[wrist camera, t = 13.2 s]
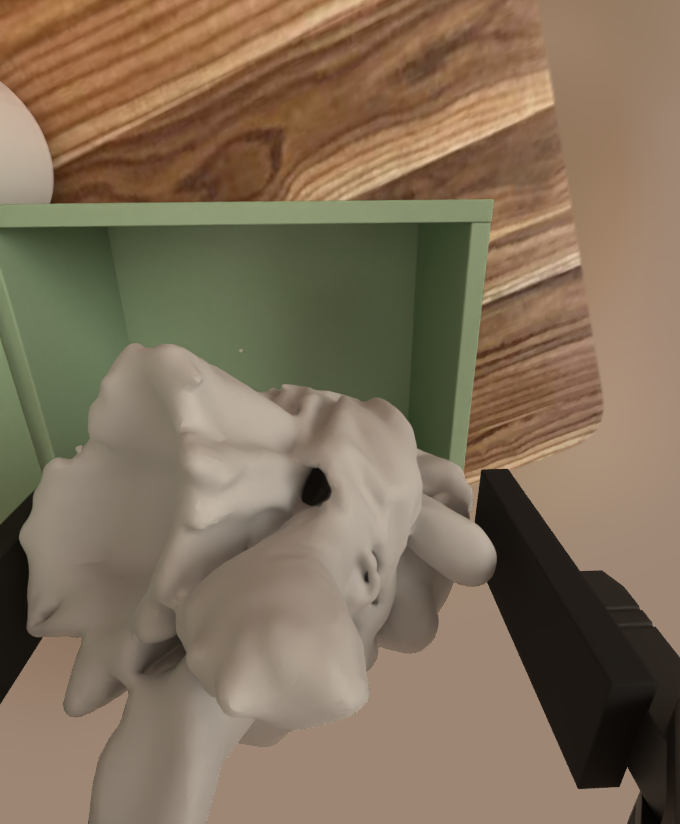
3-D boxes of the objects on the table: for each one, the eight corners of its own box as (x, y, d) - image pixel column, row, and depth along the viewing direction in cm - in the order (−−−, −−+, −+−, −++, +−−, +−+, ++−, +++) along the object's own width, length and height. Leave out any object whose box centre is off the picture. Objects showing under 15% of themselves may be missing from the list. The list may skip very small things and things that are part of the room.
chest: (430, 200, 28) (494, 199, 18) (415, 448, 35) (455, 551, 25) (94, 203, 28) (-41, 204, 17) (144, 455, 34) (69, 564, 24)
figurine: (258, 1011, 3) (679, 739, 11) (188, 189, 9) (489, 404, 17) (-133, 1024, 6) (398, 814, 14) (8, 435, 13) (325, 517, 20)
